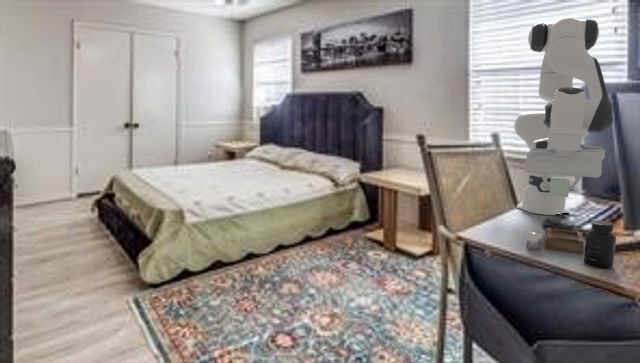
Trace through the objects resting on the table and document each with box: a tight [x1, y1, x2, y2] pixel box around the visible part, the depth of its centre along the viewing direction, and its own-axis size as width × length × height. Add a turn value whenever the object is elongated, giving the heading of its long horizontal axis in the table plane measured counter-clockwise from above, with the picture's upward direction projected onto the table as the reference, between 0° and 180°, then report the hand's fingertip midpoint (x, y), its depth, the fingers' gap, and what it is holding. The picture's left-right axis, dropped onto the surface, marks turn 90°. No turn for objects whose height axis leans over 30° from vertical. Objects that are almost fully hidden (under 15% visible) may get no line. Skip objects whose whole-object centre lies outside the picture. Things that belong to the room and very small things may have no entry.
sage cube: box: [549, 176, 571, 198], centre depth 132 cm, size 5×5×5 cm
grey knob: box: [525, 230, 543, 252], centre depth 132 cm, size 4×4×5 cm
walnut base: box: [544, 227, 585, 255], centre depth 133 cm, size 10×10×4 cm
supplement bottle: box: [583, 219, 617, 270], centre depth 118 cm, size 7×7×12 cm
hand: (559, 189), depth 132 cm, fingers closed on sage cube, 5 cm apart
